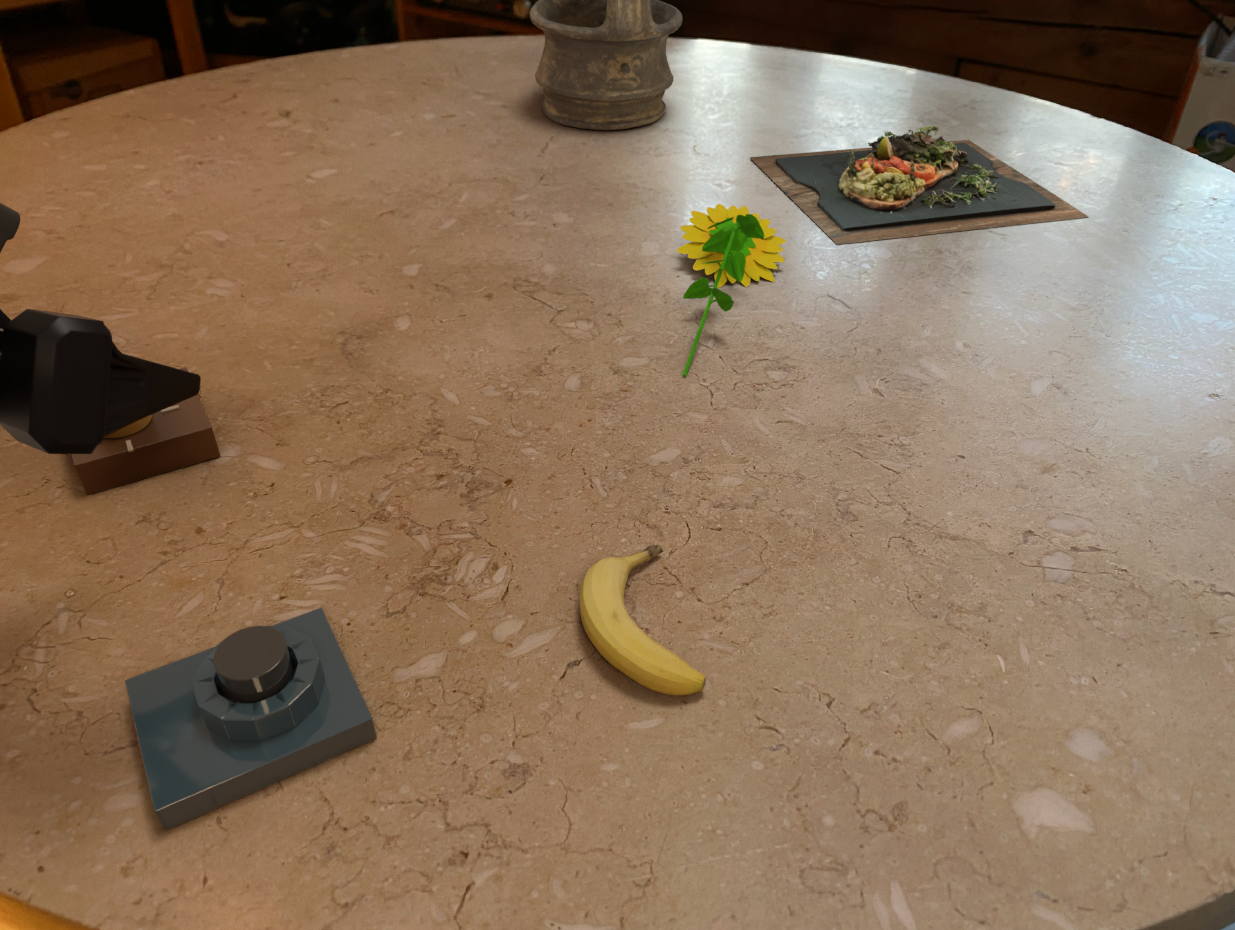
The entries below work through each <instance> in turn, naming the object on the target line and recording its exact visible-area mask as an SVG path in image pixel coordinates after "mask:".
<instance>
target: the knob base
mask: <svg viewBox="0 0 1235 930" xmlns="http://www.w3.org/2000/svg"><path fill="white" fill-rule="evenodd" d="M266 626H267V627H271V628H274V629H276V630H277V631H279V632H280V633H281V634H282V635H283V636H284V638H285V640H286V643H287V647H288V650H289V653H290V657H291V660H292V663H293V672H292V676H291V678H290V680H289V682H288V683H287V684H286V686H285V687H284V688H283V689H282V690H280V691H279V692H278V693H276V694H275V695H273V696H271V697H269V698H267V699H264V700H262V701H258V702H249V703H247V702H239V701H236V700H233V699H231V698H230V697H228V696H227V695H226V694H225V692H224V691H223V688H222V686H221V683H220V681H219V678H218V675H217V673H216V670H215V668H214V664H213V658H214V654H215V651H216V649H217V648H218V646H219V645H220V643H221V642H222V641H220V642H219V643H217V645H216V646H213V647H210V648H208V649H205V650H202V651H199V652H197V653H195V654H192V655H189V656H186V657H183V658H181V659H178V660H175V661H173V662H170V663H167V664H164V665H161V666H159V667H156V668H154V669H153V668H152V669H151V670H148V671H146V672H142V673H140V674H138V675H135V676H132V677H129V678H126V679H125V680H124V684H125V688H126V693H127V697H128V701H129V706H130V711H131V715H132V720H133V725H134V728H135V732H136V737H137V743H138V746H139V750H140V755H141V759H142V764H143V768H144V772H145V777H146V781H147V786H148V791H149V795H150V798H151V803H152V808H153V812H154V814H155V816H156V818H157V819H158V821H159V824H160V825H161V828H162V829H163V831H169V830H172V829H173V828H175V827H178V826H180V825H182V824H184V823H187V822H190V821H192V820H194V819H196V818H198V817H200V816H202V815H205V814H207V813H209V812H213V811H215V810H216V809H219V808H220V807H224V806H225V805H228V804H230V803H232V802H235V801H237V800H239V799H242V798H244V797H246V796H249V795H250V794H253V793H255V792H258V791H260V790H263V789H264V788H267V787H269V786H271V785H274V784H276V783H279V782H281V781H283V780H286V779H287V778H289V777H292V776H294V775H296V774H299V773H301V772H303V771H305V770H308V769H310V768H313V767H314V766H317V765H320V764H322V763H324V762H326V761H328V760H331V759H333V758H335V757H337V756H338V757H339V756H340V755H343V754H344V753H347V752H349V751H351V750H354V749H356V748H358V747H361V746H363V745H365V744H367V743H369V742H372V741H374V740H376V739H377V738H378V736H377V731H376V727H375V723H374V718H373V715H372V714H371V712H370V710H369V707H368V705H367V703H366V701H365V698H364V697H363V694H362V692H361V690H360V688H359V686H358V684H357V681H356V679H355V676H354V675H353V673H352V671H351V668H350V666H349V664H348V662H347V659H346V657H345V654H344V653H343V651H342V648H341V646H340V644H339V642H338V640H337V638H336V635H335V633H334V631H333V629H332V627H331V624H330V622H329V621H328V618H327V616H326V613H325V612H324V609H323V608H322V607H318V608H316V609H313V610H310V611H307V612H305V613H302V614H300V615H296V616H295V617H291V618H288V619H286V620H283V621H281V622H278V623H275V624H273V625H266Z"/></svg>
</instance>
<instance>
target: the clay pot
mask: <svg viewBox="0 0 1235 930" xmlns="http://www.w3.org/2000/svg"><path fill="white" fill-rule="evenodd" d="M529 18H530V22H531V23H532V24H533V25H534V26H535V27H536V28H537V29H539V30H542V32H543V35H544V36H543V37H544V45H543V50H542V54H541V57H540V60H539V63H538V65H537V69H536V71H535V73H534V78H535V81H536V83H537V85H538V86H540V87H542V93H543V96H544V100H543V102H542V105H541V108H542V111H543V113H544V115H545V116H546V117H547V118H548V119H550V120H551V121H552V122H554V123H556V124H559V125H561V126H566V127H571V128H578V129H583V130H584V129H585V130H595V131H614V130H615V131H616V130H626V129H632V128H637V127H642V126H646V125H650V124H652V123H655V122H657V121H658V120H659V119H661V117H663V116H664V114H665V113H666V108H667V107H666V103H665V102H664V100H663V98H664V96H665V93H666V91H667V90H668V89H670V88H671V87H672V85H673V83H674V75H673V73H672V71H671V67H670V64H669V61H668V56H667V41H668V39H669V35H670V34H674V33H675V32H676V31H678V30H679V28H680V27H681V26H682V24H683V14H682V12H681V11H680V10H679V9H678V8H677V7H675V6H674V5H672V4H670V3H667V2H665V1H662V0H536V2H535V3H534V4H533V5H532V6H531V8H530V10H529Z"/></svg>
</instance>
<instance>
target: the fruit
mask: <svg viewBox="0 0 1235 930" xmlns="http://www.w3.org/2000/svg"><path fill="white" fill-rule="evenodd" d="M662 553H664V550H663V548H662V546H661V544H652V545H649V546H647V547H646V548H644V549H643V550H641V551H639V552H637V553H635V554H631V555H628V556H621V557H613V556H612V557H611V556H609V557H607V556H606V557H605V558H602V559H600V560H599V561H597V562H595V563H594V564H593V565H592V566H590V568H588V569H587V571H586V574H585V576H584V578H583V579H582V582H581V587H580V590H579V615H580V620H581V623H582V626H583V629H584V632H585V633H586V635H587V637H588V639H589V641H590V642H591V643H592V645H593V646H594V647H595V649H596V650H597V651H598V653H599V654H600V655H601V656H602V657H603V658H604V659H605V660H606V661H607V662H608V663H609V664H610V665H612V667H614V668H616V669H617V670H619V671H620V672H621V673H622V674H624V675H625V676H627V677H629V678H630V679H631V680H633V681H634V682H636V683H637V684H639V685H641V686H642V687H645V688H647V689H649V690H651V691H652V692H656V693H659V694H663V695H669V696H685V695H691V694H696V693H700V692H703V691H704V689H705V687H706V683H707V676H706V675H705V674H703V673H701V672H700V671H698V670H696V669H694V668H693V667H691V665H689V664H688V663H687V662H686V661H685V660H683V658H681V657H679V656H678V655H676V654H675V653H674V652H672V651H671V650H669V649H667V648H665V647H664V646H663V645H661V644H659V643H658V642H656V640H654V639H653V638H652V637H650V636H649V635H648V634H647V633H645V632H644V631H643V630H642V629H641V628H640V627H639V626H638V625H637V624H636V623H635V622H634V620H633V619H632V618H631V616H630V615H629V612H628V610H627V607H626V605H625V591H626V586H627V582H628V577H629V574H630V572H631V570H632V569H633V568H635V567H638V566H639V565H641V564H644V563H647V562H649V561H650V560H651V559H653V558H655V557H657V556H659V555H660V554H662Z"/></svg>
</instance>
